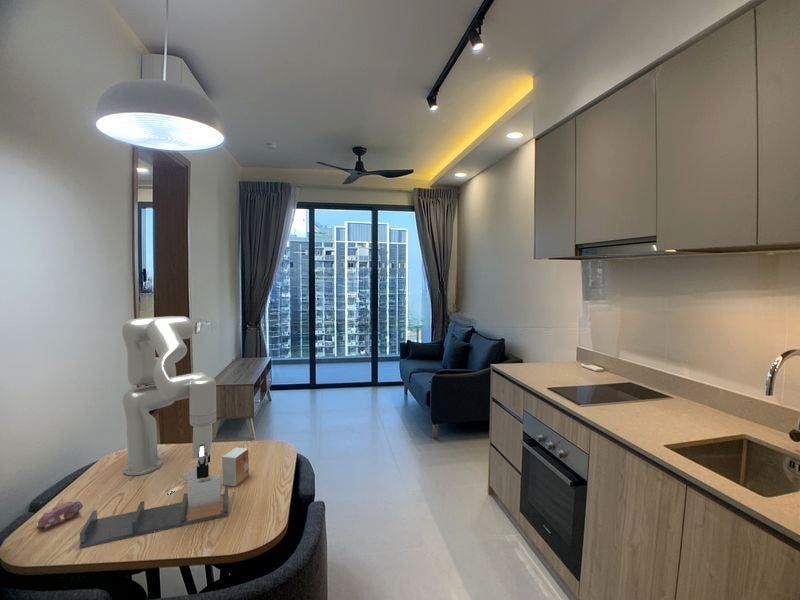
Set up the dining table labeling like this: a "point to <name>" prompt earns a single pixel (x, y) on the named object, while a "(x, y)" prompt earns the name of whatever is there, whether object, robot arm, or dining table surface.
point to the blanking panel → (204, 493)
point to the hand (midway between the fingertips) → (203, 470)
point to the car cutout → (188, 476)
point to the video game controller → (60, 513)
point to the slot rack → (146, 521)
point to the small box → (235, 466)
